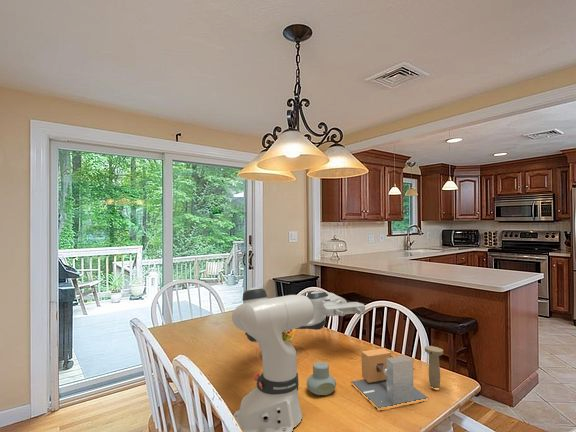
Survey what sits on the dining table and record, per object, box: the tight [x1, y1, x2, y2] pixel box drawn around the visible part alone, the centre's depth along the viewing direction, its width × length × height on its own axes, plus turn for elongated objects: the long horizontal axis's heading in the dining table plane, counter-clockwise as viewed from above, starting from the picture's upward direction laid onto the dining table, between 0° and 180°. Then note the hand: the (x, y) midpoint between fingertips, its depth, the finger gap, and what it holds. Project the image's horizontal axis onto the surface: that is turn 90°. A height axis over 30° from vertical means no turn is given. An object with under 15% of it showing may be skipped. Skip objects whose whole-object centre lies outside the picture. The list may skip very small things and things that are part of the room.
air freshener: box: [306, 361, 337, 396], centre depth 123 cm, size 11×8×10 cm
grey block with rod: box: [376, 355, 415, 405], centre depth 120 cm, size 8×16×14 cm, turn 17°
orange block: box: [361, 347, 392, 383], centre depth 129 cm, size 10×5×10 cm, turn 107°
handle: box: [424, 345, 444, 388], centre depth 123 cm, size 5×6×15 cm
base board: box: [350, 378, 429, 408], centre depth 121 cm, size 20×19×1 cm
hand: (351, 313), depth 147 cm, fingers open, 7 cm apart
